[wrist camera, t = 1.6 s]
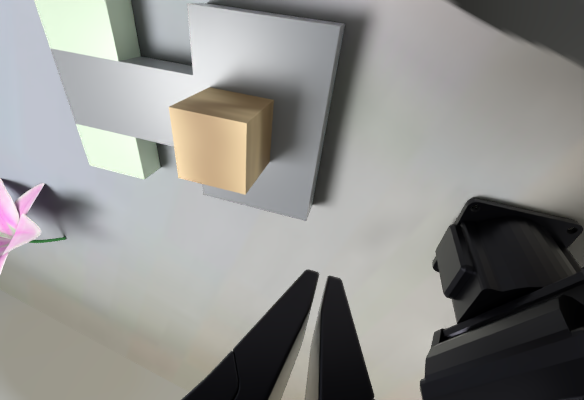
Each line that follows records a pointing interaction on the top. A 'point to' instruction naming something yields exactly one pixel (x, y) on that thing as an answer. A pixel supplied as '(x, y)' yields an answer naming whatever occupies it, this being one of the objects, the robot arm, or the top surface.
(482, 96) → the top surface
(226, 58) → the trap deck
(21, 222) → the lily
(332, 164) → the top surface
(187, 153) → the maple block
